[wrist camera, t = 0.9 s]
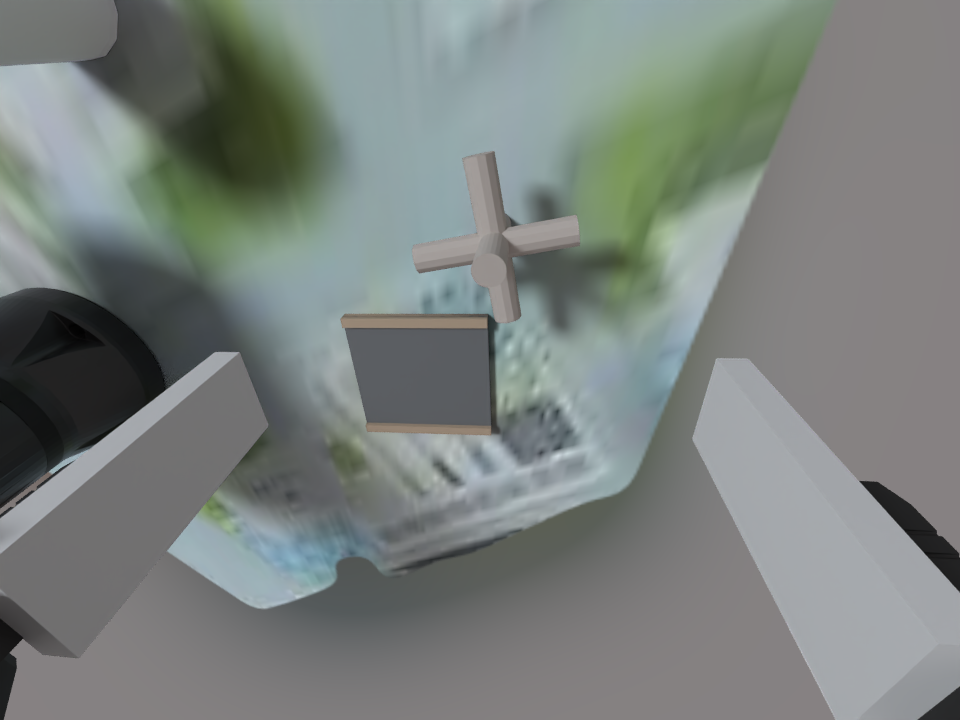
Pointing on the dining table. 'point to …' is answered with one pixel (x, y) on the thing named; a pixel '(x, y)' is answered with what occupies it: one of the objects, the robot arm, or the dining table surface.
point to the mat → (422, 371)
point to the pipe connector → (494, 240)
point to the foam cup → (56, 30)
